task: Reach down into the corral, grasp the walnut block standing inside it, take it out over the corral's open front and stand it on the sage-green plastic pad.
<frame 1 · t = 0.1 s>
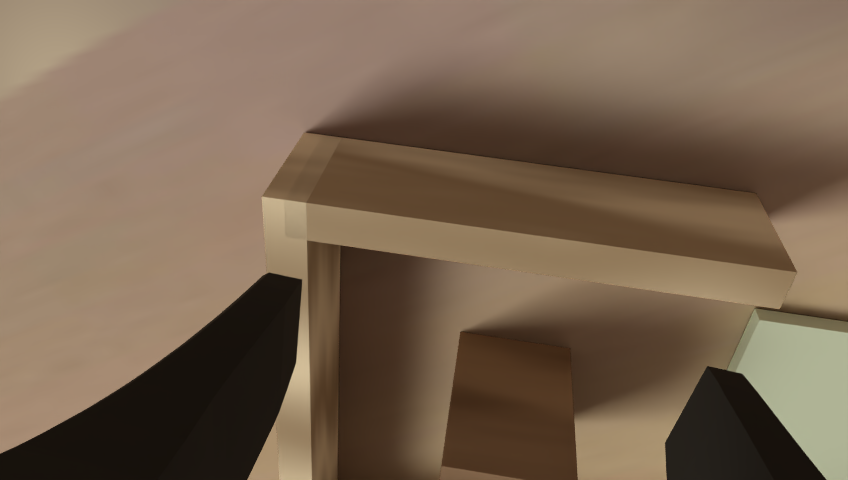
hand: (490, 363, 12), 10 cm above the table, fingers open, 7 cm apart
corral: (493, 377, 26), on the table
walnut block: (507, 378, 26), on the table
pad: (846, 433, 25), on the table
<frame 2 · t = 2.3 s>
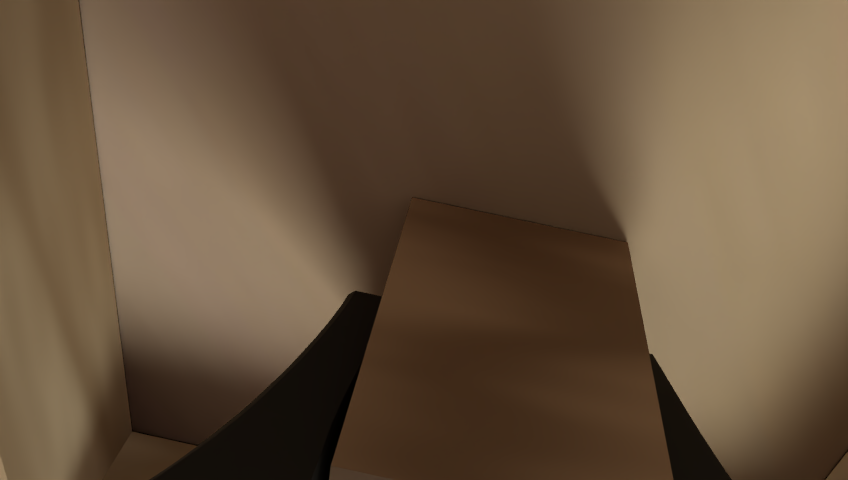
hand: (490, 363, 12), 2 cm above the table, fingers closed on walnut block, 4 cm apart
corral: (490, 322, 14), on the table
walnut block: (495, 303, 14), on the table, touching gripper
when the fingers open (3 cm above the table, at t = 6.6 s): walnut block stays where it is, resting on pad.
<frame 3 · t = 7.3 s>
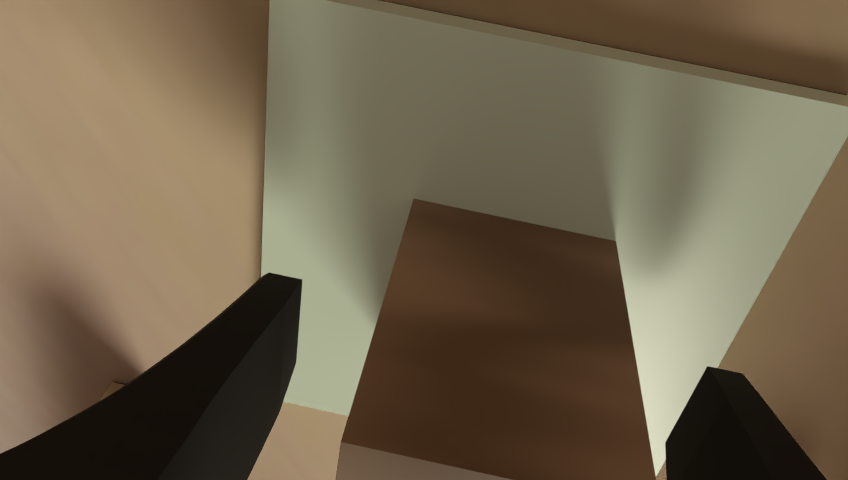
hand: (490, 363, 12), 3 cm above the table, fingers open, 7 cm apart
walnut block: (492, 298, 15), point 1 cm above the table, touching pad
pad: (498, 265, 15), on the table
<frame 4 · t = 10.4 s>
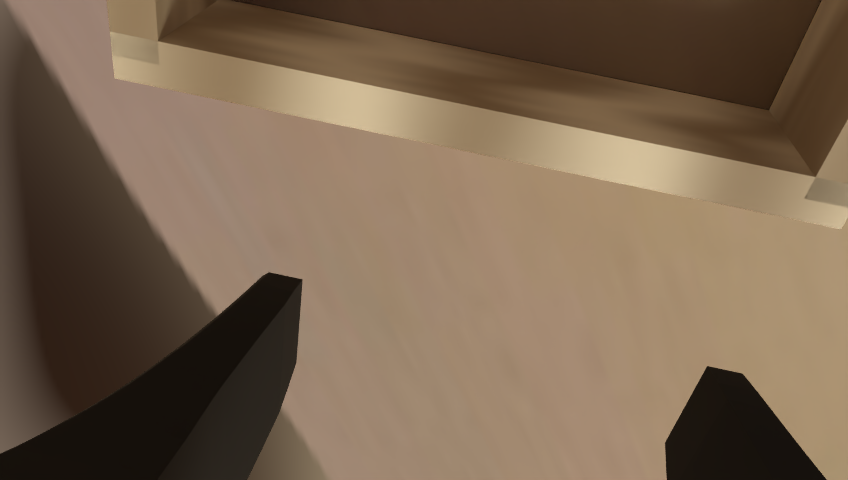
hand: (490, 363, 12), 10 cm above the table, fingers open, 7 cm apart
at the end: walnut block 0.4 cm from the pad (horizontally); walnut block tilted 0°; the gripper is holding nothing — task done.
